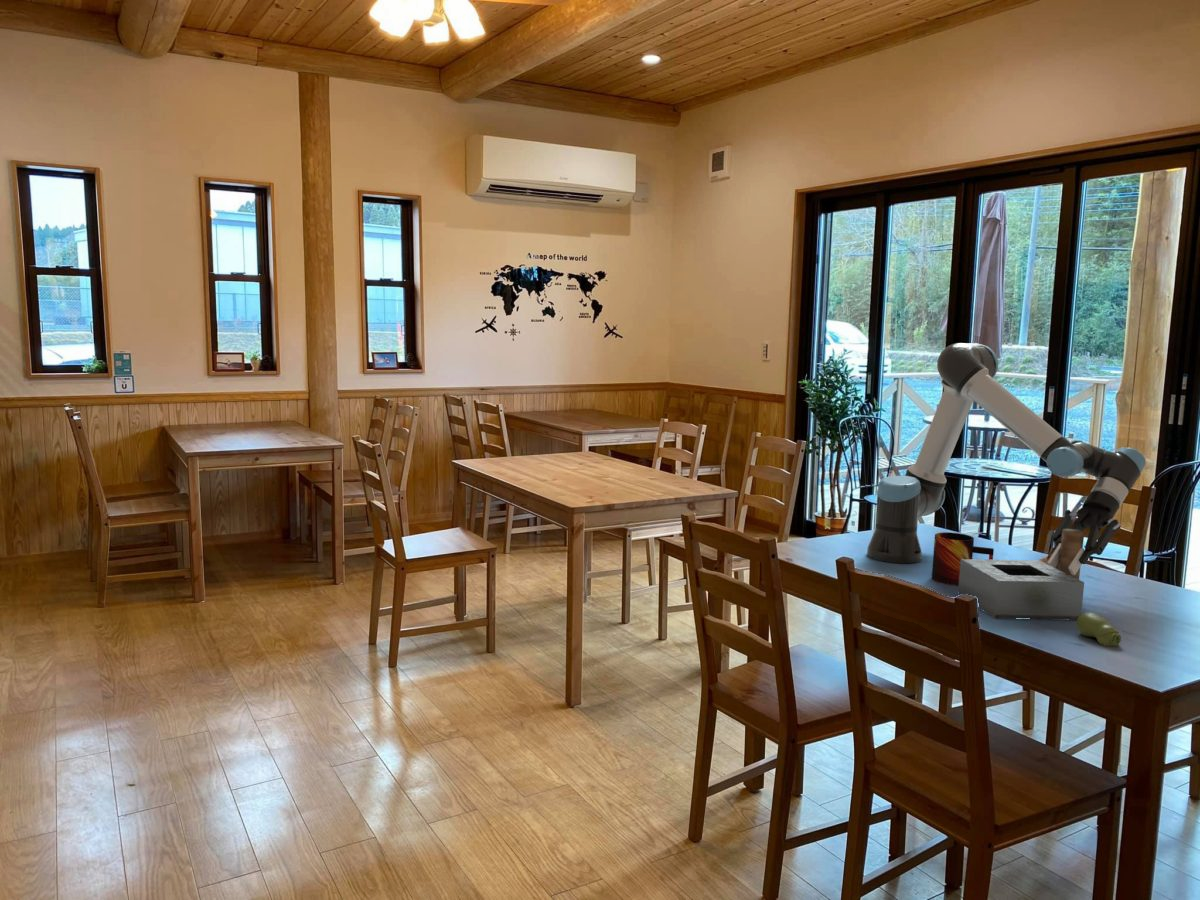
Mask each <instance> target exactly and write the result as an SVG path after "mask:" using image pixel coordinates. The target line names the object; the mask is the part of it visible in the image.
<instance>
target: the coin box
mask: <svg viewBox="0 0 1200 900" xmlns="http://www.w3.org/2000/svg"><path fill="white" fill-rule="evenodd" d="M957 587H958V588H957V591H958V592H959V594H968V595H972V596H976V597H977V598H978V603H979V609H980V610H981V609H982V610H981V611H983V610H984V611H985V612H984V611H983V612H984V613H986V612H987V613H988V614H987V613H986V614H987V615H989V616H990V617H992V618H993V619H995V620H1017V619H1016V618H1030V619H1029V620H1031V619H1069V620H1068V621H1077V619H1078V618H1079V616H1080V615H1082V610H1083V609H1082V608H1083V601H1084V600H1083V599H1084V590H1085V589H1084V588H1085V582H1084V581H1082V580H1081V579H1079V580H1078V579H1076V578H1074V577H1072V576H1070V575H1068V574H1066V573H1064V572H1062V571H1060V570H1058V569H1056V568H1053V567H1051V566H1049V565H1047V564H1045V563H1043V562H1041V561H1037V560H1036V559H1034V560H1030V559H1029V560H1027V559H1025V560H1024V559H1023V560H1022V559H1021V560H1020V559H993V560H989V559H985V558H984V559H978V558H977V559H975V558H972V559H961V562H960V575H959V586H957ZM958 592H957V593H958ZM959 594H958V595H959Z"/></svg>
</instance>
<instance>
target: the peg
mask: <svg viewBox="0 0 1200 900" xmlns="http://www.w3.org/2000/svg"><path fill="white" fill-rule="evenodd" d="M1084 538H1085V531H1080V530H1075V529H1063V532H1062V541H1061V550H1060V559H1059V568H1058V570H1060V571H1062V572H1064V573H1066V574H1068V575H1070V576H1072V577H1074V578H1076V579H1078V580H1080V576H1081V566H1082V565H1081V566H1080V568H1079V569H1078V571H1077V573H1076V574H1075V575H1072V574H1071V572H1070V571H1069V569H1068V567H1069V566H1070V564H1071V563H1072V561H1073V560H1074V558H1075V556H1076V555H1077V553H1078V552H1079V550H1080V549H1081V548H1083V547H1084ZM1083 549H1084V548H1083Z"/></svg>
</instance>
